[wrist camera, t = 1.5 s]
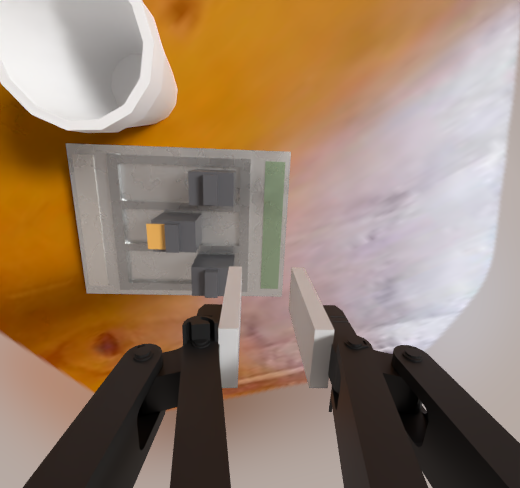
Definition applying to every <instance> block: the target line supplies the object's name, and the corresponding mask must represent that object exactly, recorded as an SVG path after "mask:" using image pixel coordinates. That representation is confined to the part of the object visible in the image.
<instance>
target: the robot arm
mask: <svg viewBox="0 0 520 488" xmlns="http://www.w3.org/2000/svg"><path fill="white" fill-rule="evenodd" d="M241 294H242V267H236V266H229V270H228V276H227V282H226V287H225V293H224V299H223V305H217V304H204V305H203V306H202V307H201V308H200V309H199V310H198V313H197V316H194V317H191V318H188V319H187V320H186V321H184V323H183V325H182V328H183V346H182V347H181V348H179V349H176V350H173V351H169V352H164V353H162V350H161V348H160V347H159V346H157V345H154V344H142V345H138V346H135V347H133V348H131V349H130V350H129V351H127V352H126V353H125V354H124V356H123V357H122V358H121V360H120V361H119V362H118V364H117V365H116V366H115V368H114V369H113V370H112V371H111V373H110V374H109V375H108V377H107V378H106V379H105V381H104V382H103V383H102V385H101V386H100V387H99V388H98V390H97V391H96V392H95V394H94V395H93V396H92V398H91V399H90V400H89V402H88V403H87V404H86V405H85V407H84V408H83V409H82V411H81V412H80V413H79V415H78V416H77V417H76V419H75V420H74V421H73V422H72V424H71V425H70V426H69V428H68V429H67V430H66V432H65V433H64V434H63V436H62V437H61V438H60V439H59V441H58V442H57V444H56V445H55V446H54V447H53V449H52V450H51V451H50V453H49V454H48V455H47V457H46V458H45V459H44V460H43V462H42V463H41V464H40V466H39V467H38V468H37V470H36V471H35V472H34V473H33V475H32V476H31V477H30V479H29V480H28V481H27V483H26V484H25V485H24V487H23V488H133V486H134V484H135V482H136V479H137V477H138V475H139V472H140V470H141V468H142V465H143V463H144V461H145V459H146V456H147V454H148V452H149V449H150V447H151V445H152V442H153V440H154V437H155V436H156V433H157V431H158V429H159V426H160V424H161V422H162V419H163V417H164V415H165V411H166V410H167V409H171V408H175V407H177V417H176V428H175V438H174V449H173V460H172V471H171V482H170V488H231V484H230V473H229V462H228V451H227V440H226V428H225V417H224V407H223V394H222V388H237V386H238V365H239V344H240V323H241ZM289 312H290V316H291V320H292V324H293V328H294V331H295V335H296V339H297V343H298V347H299V351H300V355H301V358H302V362H303V366H304V370H305V374H306V378H307V382H308V386H309V388H327V387H328V380H329V378H330V381H331V384H332V390H331V399H330V406H329V412H332V408H333V415H334V422H335V429H336V435H337V442H338V449H339V456H340V463H341V470H342V476H343V483H344V488H428V486H427V483H426V481H425V478H424V476H423V473H424V475H425V476H426V478H427V479H428V481H429V483H430V484H431V486H432V487H433V488H520V443H519V442H518V441H516V439H515V438H514V437H513V436H512V435H510V434H509V433H508V432H507V431H506V430H505V429H504V428H503V427H502V426H501V425H500V424H499V423H498V422H497V421H496V420H495V419H494V418H493V417H492V416H491V415H490V414H489V413H488V412H487V411H486V410H485V409H484V408H482V406H481V405H480V404H479V403H477V402H476V401H475V400H474V399H473V398H472V397H471V396H470V395H469V394H468V393H467V392H466V391H465V390H464V389H463V388H462V387H461V386H460V385H459V384H458V383H457V382H456V381H455V380H454V379H453V378H452V377H451V376H450V375H449V374H447V372H446V371H444V370H443V369H442V368H441V367H440V366H439V365H438V364H437V363H436V362H435V361H434V360H433V359H432V358H431V357H430V356H429V355H428V354H427V353H425V352H424V351H422V350H420V349H418V348H416V347H412V346H409V345H400V346H397V347H395V348H394V351H393V354H388V353H384V352H379V351H376V350H373V348H372V346H371V344H370V343H369V342H368V341H367V340H365V339H364V338H362V337H359V336H357V335H356V333H355V332H354V330H353V328H352V326H351V325H350V323H348V320H347V318H346V316H345V315H344V313H343V311H342V310H340V309H339V308H338V307H336V306H333V305H322V303H321V301H320V299H319V297H318V295H317V293H316V291H315V289H314V287H313V285H312V283H311V281H310V279H309V277H308V275H307V272H306V270H305V268H292V269H291V283H290V297H289ZM422 403H423V404H424V406H425V407H426V410H427V411H426V410H425V409H424V408H423V406H422ZM421 470H422V471H421ZM422 472H423V473H422Z"/></svg>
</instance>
